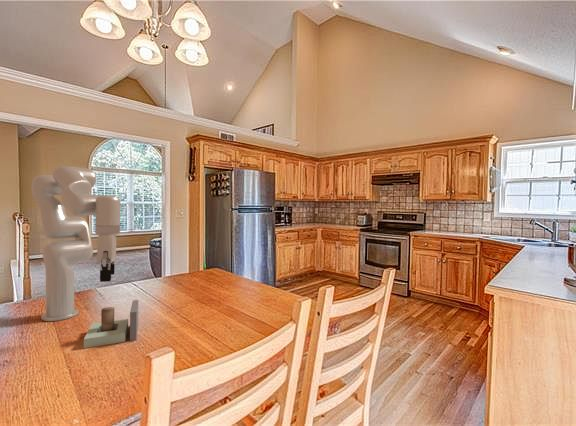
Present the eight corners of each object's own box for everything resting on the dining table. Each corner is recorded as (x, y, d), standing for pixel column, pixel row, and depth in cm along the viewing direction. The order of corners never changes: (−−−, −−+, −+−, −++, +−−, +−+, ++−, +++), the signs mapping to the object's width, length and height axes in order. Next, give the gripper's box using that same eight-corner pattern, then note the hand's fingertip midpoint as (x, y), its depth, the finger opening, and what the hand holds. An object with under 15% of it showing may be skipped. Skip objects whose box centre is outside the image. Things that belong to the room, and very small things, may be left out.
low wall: (132, 325, 116) (132, 300, 116) (138, 324, 117) (138, 299, 116) (130, 340, 103) (130, 312, 103) (136, 339, 104) (136, 311, 104)
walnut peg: (102, 334, 107) (102, 307, 107) (114, 333, 109) (115, 306, 109) (100, 339, 104) (100, 311, 104) (113, 337, 106) (113, 310, 105)
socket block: (91, 331, 110) (91, 323, 110) (128, 326, 115) (128, 318, 115) (83, 348, 98) (83, 339, 98) (125, 341, 103) (125, 333, 102)
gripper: (99, 228, 112) (99, 273, 112) (90, 233, 96) (90, 285, 97) (122, 228, 115) (121, 271, 115) (117, 232, 99) (116, 283, 100)
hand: (107, 277), depth 106 cm, fingers open, 9 cm apart
